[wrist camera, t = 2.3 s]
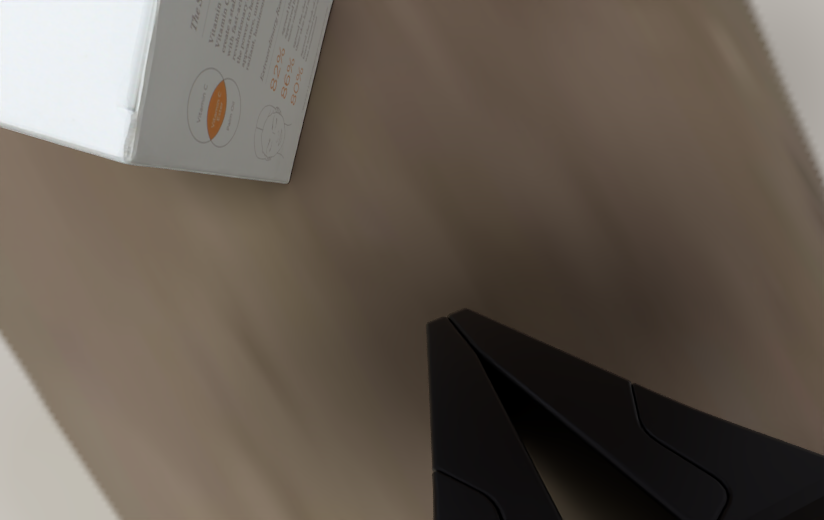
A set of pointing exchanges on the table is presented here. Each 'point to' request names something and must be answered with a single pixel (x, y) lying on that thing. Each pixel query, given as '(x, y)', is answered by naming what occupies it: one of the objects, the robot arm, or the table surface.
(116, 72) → the small box
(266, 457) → the table surface
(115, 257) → the table surface
